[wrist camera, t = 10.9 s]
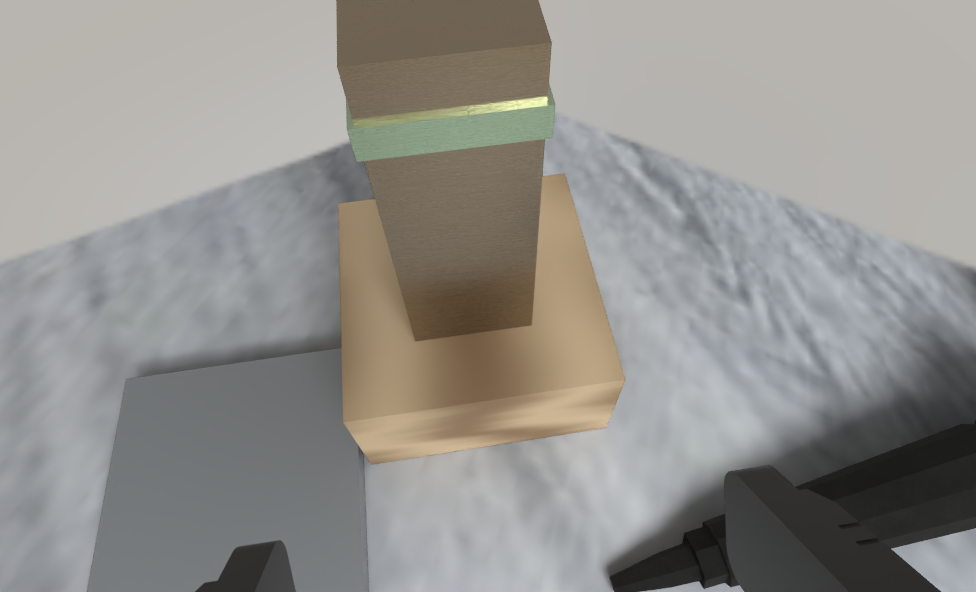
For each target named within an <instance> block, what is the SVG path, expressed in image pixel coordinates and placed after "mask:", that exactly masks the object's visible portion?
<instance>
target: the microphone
mask: <svg viewBox="0 0 976 592" xmlns="http://www.w3.org/2000/svg"><path fill="white" fill-rule="evenodd" d="M796 488H797V489H798V490H802V489H809V490H811V491H813V492H815V493H817V494H819V495H821V496H823V497H825V498H827V499H829V500H832V501H834V502H836V503H838V504H839V505H840V506H841V507H842V508H843V509H845V510H846V511H847V512H848V513H849V514H850V515H852V516H853V517H854V518H855V519H856V520H857V521H859V524H860V526H864V527H866V528H867V529H868V530H869V531H870V532H872V533H873V534H874V535H875V536H876V537H877V538H878V540H879V542H880V543H881V542H883V543H884V544H886V545H887V546H888V547H889V548H890V549H891V548H895V547H899V546H903V545H908V544H912V543H916V542H920V541H924V540H928V539H933V538H937V537H941V536H945V535H949V534H953V533H957V532H962V531H966V530H970V529H974V528H976V421H975V423H974V424H960V425H958V426H955V427H953V428H950V429H947V430H945V431H942V432H939V433H937V434H934V435H931V436H929V437H926V438H924V439H921V440H918V441H916V442H913V443H910V444H908V445H905V446H902V447H900V448H897V449H895V450H892V451H889V452H887V453H884V454H881V455H879V456H876V457H873V458H871V459H868V460H866V461H863V462H860V463H858V464H855V465H852V466H850V467H847V468H844V469H842V470H839V471H837V472H834V473H831V474H829V475H826V476H823V477H821V478H818V479H815V480H813V481H810V482H808V483H805V484H802V485H800V486H797V487H796ZM610 580H611V583H612V586H613V589H614V592H640V591H647V590H655V589H662V588H669V587H675V586H679V585H683V584H687V583H691V582H695V581H700V583H701V585H702V587H703V588H704V589H705V588H709V587H712V586H715V585H718V584H721V583H726V584H728V585H729V586H730V587H733V586H737V585H739V583H738V581H737V580H736V578H735V576H734V573H733V571H732V568H731V565H730V562H729V558H728V554H727V547H726V520H725V514H723V515H721V516H718V517H715V518H713V519H710V520H707V521H705V522H703V527H702V528H699V529H696V530H693V531H689V532H686V533H684V539H683V544H680V545H678V546H675V547H673V548H670V549H667V550H665V551H662V552H659V553H657V554H655V555H653V556H651V557H649V558H647V559H645V560H643V561H641V562H639V563H637V564H635V565H633V566H631V567H629V568H627V569H625V570H623V571H621V572H619V573H617V574H615V575H613V576H611V577H610Z"/></svg>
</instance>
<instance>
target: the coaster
mask: <svg viewBox="0 0 976 592" xmlns="http://www.w3.org/2000/svg"><path fill="white" fill-rule="evenodd" d="M278 540H281V541H282V542H283V543H284V545H285V547H286V550H287V554H288V558H289V563H290V567H291V572H292V576H293V581H294V585H295V590H296V592H369V585H368V560H367V535H366V510H365V485H364V460H363V451H362V450H361V448H360V447H359V445H358V444H357V442H356V441H355V440H354V438H353V437H352V435H351V434H350V432H349V431H348V429H347V428H346V426H345V425H344V423H343V392H342V348H336V349H329V350H322V351H316V352H309V353H302V354H295V355H288V356H281V357H274V358H267V359H260V360H254V361H247V362H240V363H233V364H226V365H219V366H212V367H205V368H199V369H192V370H185V371H178V372H171V373H164V374H157V375H150V376H143V377H137V378H130V379H126V382H125V388H124V393H123V398H122V404H121V409H120V415H119V420H118V425H117V431H116V436H115V442H114V447H113V453H112V458H111V463H110V469H109V474H108V480H107V485H106V490H105V496H104V501H103V507H102V512H101V517H100V523H99V528H98V534H97V539H96V544H95V550H94V555H93V561H92V566H91V571H90V577H89V582H88V588H87V592H195V591H196V590H197V589H198V588H199V587H200V586H201V585H202V584H203V583H205V582H212V581H218V579H219V577H220V575H221V573H222V571H223V569H224V567H225V565H226V563H227V561H228V560H229V558H230V556H231V554H232V552H233V550H234V549H235V548H236V547H239V546H245V545H252V544H258V543H265V542H271V541H278Z"/></svg>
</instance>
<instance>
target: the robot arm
mask: <svg viewBox="0 0 976 592" xmlns="http://www.w3.org/2000/svg"><path fill="white" fill-rule="evenodd" d="M724 491H725V520H726V547H727V554H728V558H729V562H730V565H731V568H732V571H733V573H734V576H735V578H736V580H737V581H738V583H739V585H740V586H741V588H742V589H743V590H744V592H941V591H940V590H938V589H937V588H936V587H935V586H934V585H933V584H931V583H930V582H929V581H928V580H927V579H925V578H924V577H923V576H922V575H921V574H920V573H918V572H917V571H916V570H915V569H914V568H913V567H911V566H910V565H909V564H908V563H907V562H906V561H904V560H903V559H902V558H901V557H900V556H898V555H897V554H896V553H895V552H894V551H893V550H891V549H890V548H889V547H888V546H887V545H886V544H884V543H883V542H881V543H880V542H879V540H878V538H877V537H876V536H875V535H874V534H873V533H872V532H870V531H869V530H868V529H867V528H866V527H864V526H860V524H859V521H857V520H856V519H855V518H854V517H853V516H852V515H850V514H849V513H848V512H847V511H846V510H845V509H843V508H842V507H841V506H840V505H839V504H838V503H836V502H834V501H832V500H829V499H827V498H825V497H823V496H821V495H819V494H817V493H815V492H813V491H811V490H809V489H802V490H798V489H797V488H796V487H794V486H793V485H792V484H791V483H790V482H789V481H788V480H787V479H786V478H785V477H783V476H782V475H781V474H780V473H779V472H778V471H777V470H776V469H774V468H773V467H771V466H762V467H755V468H749V469H742V470H736V471H730V472H728V473H727V474H726V476H725V481H724ZM195 592H296V590H295V585H294V581H293V576H292V572H291V567H290V563H289V558H288V554H287V550H286V547H285V545H284V543H283V542H282V541H281V540H278V541H271V542H265V543H258V544H252V545H245V546H239V547H236V548H235V549H234V550H233V552H232V554H231V556H230V558H229V560H228V561H227V563H226V565H225V567H224V569H223V571H222V573H221V575H220V577H219V579H218V581H212V582H205V583H203V584H202V585H201V586H200V587H199V588H198V589H197V590H196V591H195Z"/></svg>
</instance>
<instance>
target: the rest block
mask: <svg viewBox="0 0 976 592" xmlns="http://www.w3.org/2000/svg"><path fill="white" fill-rule="evenodd" d="M338 215H339V259H340V303H341V348H342V392H343V423H344V425H345V426H346V428H347V429H348V431H349V432H350V434H351V435H352V437H353V438H354V440H355V441H356V442H357V444H358V445H359V447H360V448H361V450H362V451H363V453H364V454H365V456H366V457H367V459H368V460H369V462H370V463H371V464H377V463H384V462H390V461H396V460H403V459H409V458H416V457H422V456H428V455H435V454H441V453H448V452H454V451H460V450H467V449H473V448H480V447H486V446H492V445H499V444H505V443H512V442H518V441H524V440H531V439H537V438H544V437H550V436H557V435H563V434H569V433H576V432H582V431H589V430H595V429H601V428H606V427H607V424H608V422H609V419H610V417H611V414H612V412H613V410H614V407H615V405H616V402H617V400H618V397H619V395H620V392H621V390H622V387H623V385H624V383H625V380H626V379H625V376H624V373H623V369H622V366H621V362H620V359H619V356H618V352H617V349H616V345H615V342H614V339H613V335H612V332H611V328H610V325H609V322H608V318H607V315H606V311H605V308H604V305H603V301H602V298H601V295H600V291H599V288H598V284H597V281H596V278H595V274H594V271H593V267H592V264H591V261H590V257H589V254H588V250H587V247H586V244H585V240H584V237H583V233H582V230H581V227H580V223H579V220H578V216H577V213H576V210H575V206H574V203H573V200H572V196H571V193H570V189H569V186H568V183H567V179H566V176H565V174H558V175H551V176H543V177H542V188H541V202H540V217H539V231H538V245H537V260H536V274H535V289H534V303H533V317H532V326H525V327H518V328H510V329H503V330H496V331H489V332H481V333H474V334H467V335H460V336H452V337H445V338H438V339H431V340H423V341H416V342H415V339H414V335H413V332H412V328H411V325H410V321H409V318H408V314H407V311H406V307H405V304H404V300H403V297H402V293H401V289H400V286H399V282H398V279H397V275H396V272H395V268H394V265H393V261H392V258H391V254H390V251H389V247H388V244H387V240H386V237H385V233H384V230H383V226H382V223H381V219H380V216H379V212H378V208H377V205H376V201H375V199H369V200H362V201H354V202H347V203H339V204H338Z"/></svg>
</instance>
